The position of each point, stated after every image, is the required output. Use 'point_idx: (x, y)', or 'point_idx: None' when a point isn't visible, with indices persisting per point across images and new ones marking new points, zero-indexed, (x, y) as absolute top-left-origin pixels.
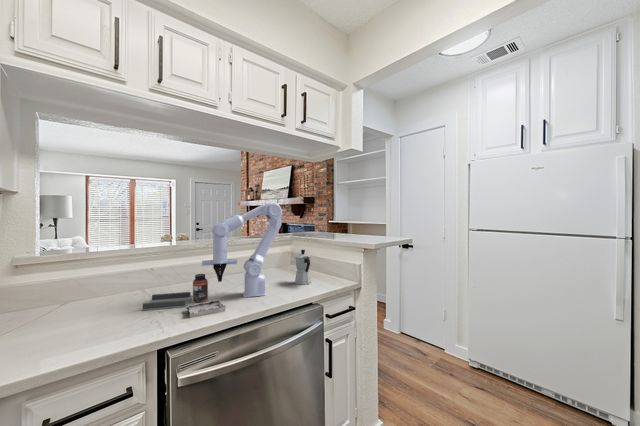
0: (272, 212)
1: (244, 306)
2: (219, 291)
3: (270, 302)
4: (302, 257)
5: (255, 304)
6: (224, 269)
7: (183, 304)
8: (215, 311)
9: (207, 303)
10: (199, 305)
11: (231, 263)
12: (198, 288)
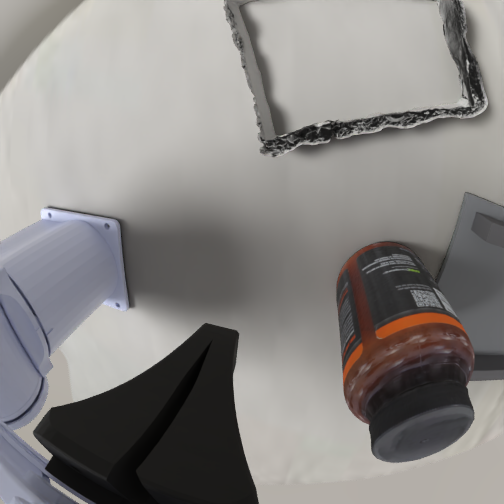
0: None
1: (123, 61)
2: (254, 381)
3: (33, 106)
4: None
5: (77, 85)
6: (81, 401)
7: (485, 216)
8: None
9: (356, 120)
10: (411, 113)
11: (5, 434)
12: (434, 295)
